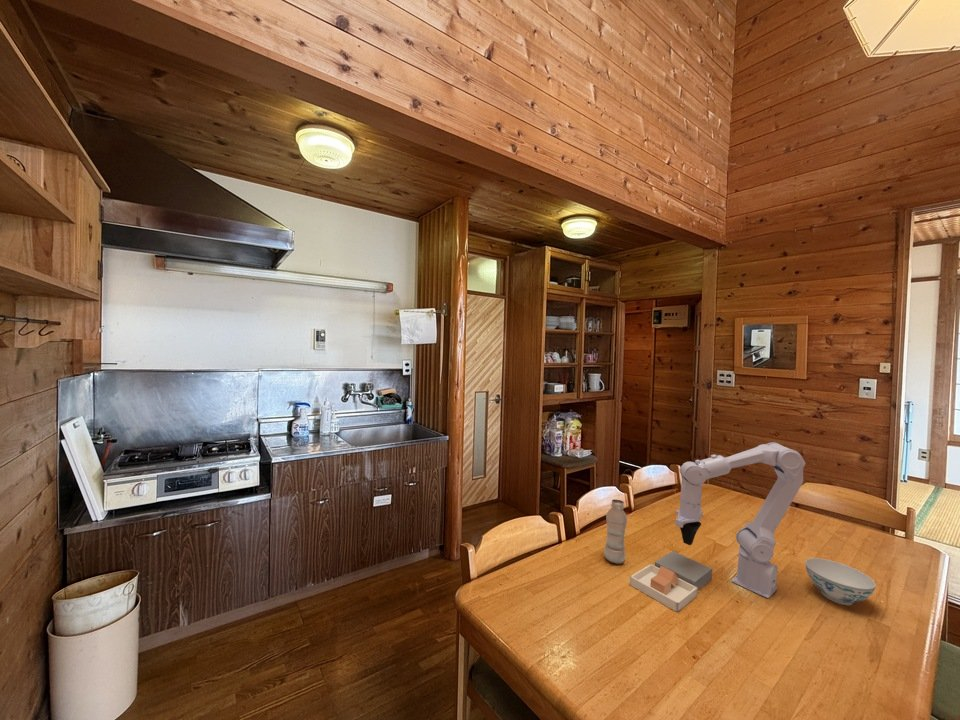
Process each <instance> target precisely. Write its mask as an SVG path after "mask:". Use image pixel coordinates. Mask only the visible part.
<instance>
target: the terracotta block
mask: <svg viewBox="0 0 960 720" xmlns="http://www.w3.org/2000/svg"><path fill="white" fill-rule="evenodd" d="M650 587H652V588H654V589H655V590H657V591H659V592H661V593H663V594H664V595H667V594H668V593H669V592H671V581H670V580H668V579H666V578H664V577H662V576H660V575H656V576H654V577H653V578H651V585H650Z"/></svg>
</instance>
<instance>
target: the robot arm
mask: <svg viewBox="0 0 960 720" xmlns="http://www.w3.org/2000/svg"><path fill="white" fill-rule="evenodd" d="M758 463H761V464H765V465H769V466H771V467H772V468H773V470H774V472H775V473H776V475H777V479H776V480H775V482H774V483H773V485H772V488H771V489H770V491H769V493H768V495H767V496H766V498H765V500H764V501H763V503H762V505H761V506H760V509H759V511H758V512H757V514H756V515H755V517H754V519H753V521H749V522H746V523H745V525H744V526H743V527H742V528H741V529H739V530H737V532H736V534H735V538H736V542H737V544H738V545H739V549H738V559H737V573H736V575H735V577H733V578H732V579H731V582H732V583H734V584H736V585H738V586H739V587H743V588H745V589H746V590H749V591H750V592H753V593H755V594H757V595H760V596H762V597H764V598H765V599H770V597H771V596H772V595H774V593H775V592H776V591H777V589H778V587H777V580H778V566H777V565H776V564H775V563H773V562H771V560H772V558H773V557H774V549H775V546H776V544H777V542H776V539H775V531H776V530H777V528H778V527H779V525H780V524H781V521H782V519H783V518H784V517H785V514H786V513H787V511H788V509H789V508H790V506H791V504H792V502H793V501H794V500H795V497H796V495H797V494H798V492H799V491H800V489H801V488H802V485H803V484H804V468H805V466H806V465H807V464H806V462H805V460H804V458H803V456H802V455H801V453H799V452H798V451H797V450H795V449H791V448H789V447H786V446H783V445H782V444H780V443H778V442H775V441H774V442H768V443H764V444H758V446H756V447H753V448H750V449H747V450H744V451H741V452H738V453H735V454H732V455H730V456H726V457H725V456H723V455H721V454H720V455H719V454H718V455H717V454H711V455H710V457H708V458H704V459H701V460H700V459H695V461H686V462H684V463H682V465H681V467H680V468H679V469H678V471H679V474H680V475H681V487H680V497H679V501H680V502H679V509H676V510H675V514H677V516H676V518H675V524H674V525H675V527H679V530H680V532H681V538H682V542H683V543H684V544H685V545H688V546H691V545H692V544H693V543H694V540H695V536H696V534H697V532H698V530H699V528H700V527H701V526H702V522H701V520H702V517H703V515H704V514H703V513H704V511H703V510H702V509H701V508H702V497H703V495H702V494H703V484H705V482H706V481H707V480H708V479H709V480H710V479H713V478H715V477H716V478H717V477H720V476H723V475H728V474H730V472H731V470H732V469H735V468H739V467H744V466H749V465H752V464H758Z"/></svg>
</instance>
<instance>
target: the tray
mask: <svg viewBox="0 0 960 720" xmlns="http://www.w3.org/2000/svg"><path fill="white" fill-rule="evenodd" d="M659 569H660V568H658V567H656V566H655V564H654V565H653V564H652V563H649V564H648V565H646V566H645V567H643V568H641V569H640V570H638V571H636V572H635V573H633V574H632V575H630V576H629V586H632V587H633V588H635V589H636V590H638V591H640V592H641V593H643V594H645V595H647V596H648V597H650V598H652V599H653V600H655V601H657V602H659V603H660V604H661V605H663V606H665V607H667V608H669V609H671V610H672V611H674V612H675V613H679V612H680V611H681V610H682V609H683V608H686V606H687V605H688V604H689V603H690V602H691V601H693V600H694V599H695V598H697V597H698V591H699V590H698V588H697V587H695V586H693V585H691V584H689V583H687V582H685V581H683V580H682V579H680V578H678V581H677V583H676V586H675V587H673V586H671V592H669V593H668V594H667V595H664V594H663V593H661V592H659V591H657V590H655V589H654V588H652V587H650V585H651V578H653V577H654V576H656V575H657V574H658V572H659Z"/></svg>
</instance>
